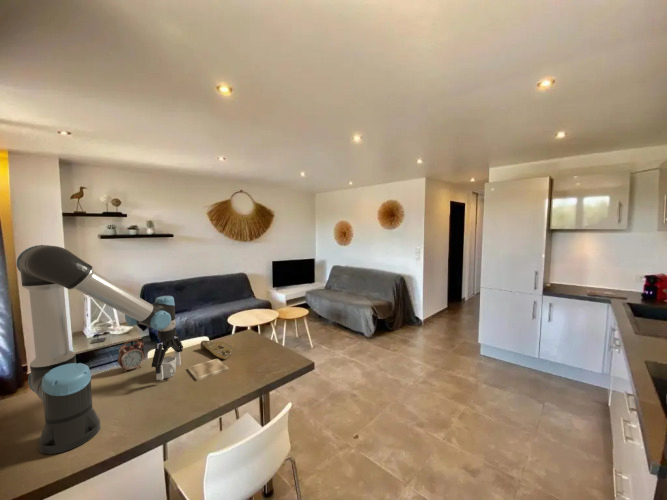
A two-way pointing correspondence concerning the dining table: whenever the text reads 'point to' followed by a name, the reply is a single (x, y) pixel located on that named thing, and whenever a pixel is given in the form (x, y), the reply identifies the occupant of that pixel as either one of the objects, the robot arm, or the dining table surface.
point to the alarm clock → (131, 356)
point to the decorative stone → (218, 348)
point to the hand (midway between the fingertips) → (169, 371)
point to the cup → (169, 366)
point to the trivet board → (207, 369)
